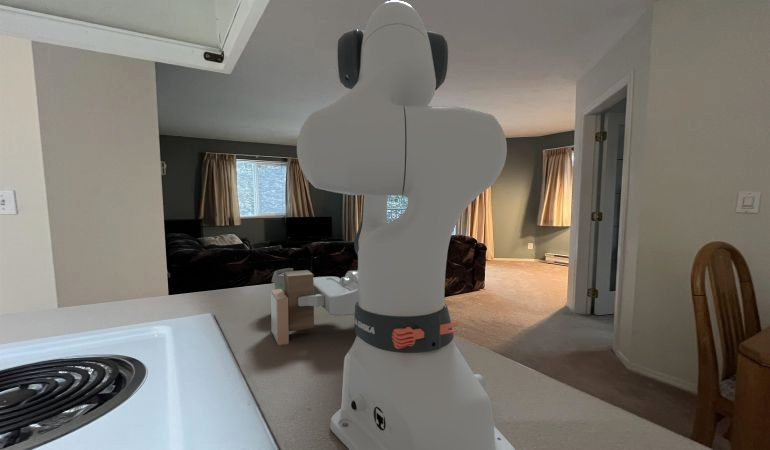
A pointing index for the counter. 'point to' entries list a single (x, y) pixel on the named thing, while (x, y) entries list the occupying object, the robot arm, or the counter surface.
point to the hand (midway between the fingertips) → (294, 297)
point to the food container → (280, 278)
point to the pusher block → (294, 287)
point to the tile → (279, 316)
